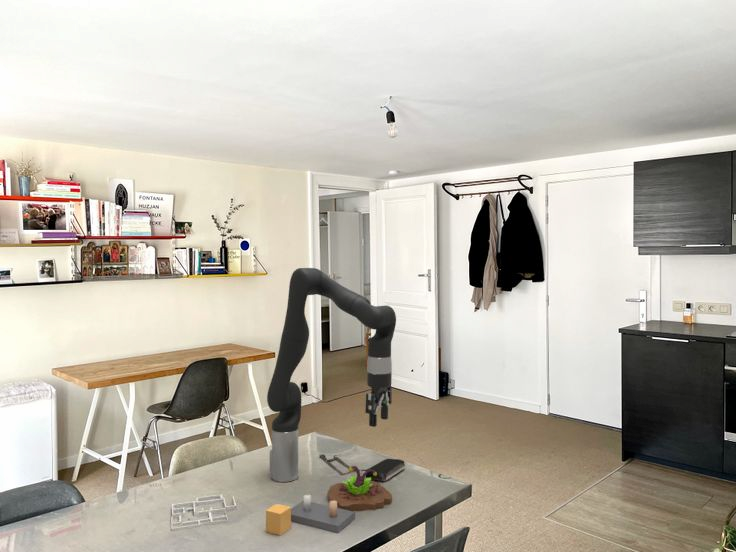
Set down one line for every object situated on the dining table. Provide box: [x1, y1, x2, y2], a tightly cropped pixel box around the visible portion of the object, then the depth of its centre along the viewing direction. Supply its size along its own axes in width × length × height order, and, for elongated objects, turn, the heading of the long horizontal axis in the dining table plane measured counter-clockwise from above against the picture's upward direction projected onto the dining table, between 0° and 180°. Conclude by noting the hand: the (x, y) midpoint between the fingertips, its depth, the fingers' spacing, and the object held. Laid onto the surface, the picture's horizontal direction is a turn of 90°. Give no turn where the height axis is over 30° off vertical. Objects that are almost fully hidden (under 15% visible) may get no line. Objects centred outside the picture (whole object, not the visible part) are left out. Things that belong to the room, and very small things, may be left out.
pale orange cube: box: [265, 503, 292, 536], centre depth 160 cm, size 5×5×6 cm
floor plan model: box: [170, 493, 237, 532], centre depth 174 cm, size 19×25×2 cm
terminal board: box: [291, 494, 356, 534], centre depth 167 cm, size 18×10×6 cm, turn 63°
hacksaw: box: [319, 454, 366, 476], centre depth 211 cm, size 24×10×2 cm, turn 27°
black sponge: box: [364, 458, 405, 482], centre depth 202 cm, size 16×8×4 cm, turn 148°
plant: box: [326, 465, 393, 512], centre depth 181 cm, size 20×20×11 cm
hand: (378, 422), depth 175 cm, fingers open, 8 cm apart
